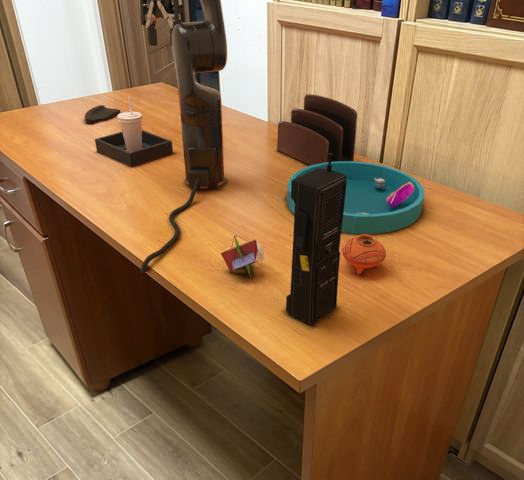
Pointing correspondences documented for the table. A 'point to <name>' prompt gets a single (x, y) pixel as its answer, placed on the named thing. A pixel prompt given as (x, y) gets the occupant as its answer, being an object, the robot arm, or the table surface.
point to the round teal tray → (373, 197)
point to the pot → (363, 252)
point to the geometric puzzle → (243, 255)
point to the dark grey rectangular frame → (117, 151)
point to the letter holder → (319, 131)
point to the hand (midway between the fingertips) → (164, 45)
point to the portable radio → (316, 243)
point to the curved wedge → (100, 114)
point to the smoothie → (131, 128)
